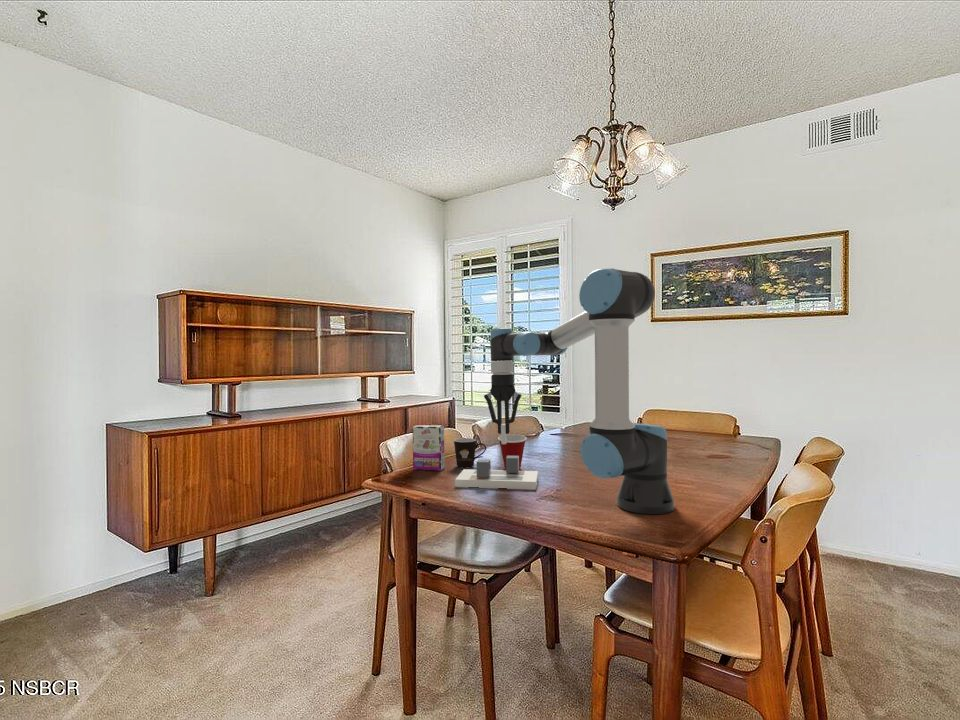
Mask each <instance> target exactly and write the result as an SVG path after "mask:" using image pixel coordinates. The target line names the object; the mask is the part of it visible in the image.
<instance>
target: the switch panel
mask: <svg viewBox="0 0 960 720" xmlns="http://www.w3.org/2000/svg"><path fill="white" fill-rule="evenodd" d="M462 469H463V470H461V472H460V473H459V474H458V475H457V476H456V478H455V480H454V485H455V486H454V487H455V488H468V487H479V488H478V489H498V488H507V489H506V490H530V491H531V490H532V491H533V490H534V491H535V490H537V487H538V486H537V485H538V482H537V481H539V471H538V470H519V472H518V473H506V469H505V470H503V469H491V475H490V477H489V478H483V477H477V469H470V468H462Z"/></svg>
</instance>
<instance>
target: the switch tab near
mask: <svg viewBox="0 0 960 720" xmlns="http://www.w3.org/2000/svg"><path fill="white" fill-rule="evenodd" d="M477 459H478V458H477ZM491 467H492V466H491V459H483V458H482V459H481V458H479V459H478V460H477V461H476V470H477V477H483V478H489V477H490V475H491V470H492V469H491Z"/></svg>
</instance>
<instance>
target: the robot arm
mask: <svg viewBox="0 0 960 720" xmlns="http://www.w3.org/2000/svg"><path fill="white" fill-rule="evenodd" d="M578 295H579V296H578V298H579V303H580V306H581V307H582V308H583V312H581V313H580V314H577V315H576V316H574V317H572V318H571V319H569V320H568V321H566V322H564V323H562V324H560V325H558V326H556V327H555V328H553V329H552V330H549V331H547V332H533V331H521V332H513V330H512V328H510V327H498V328H497V327H496V328H492V329H491V330H490V335H489V336H490V340H489V344H490V373H491V377H490V379H491V387H490V390H489V392H488V393H486V394H484V395H483V399H484V400H485V401H486V403H487V406H488V410H489V413H490V418H491V422H492V423H495V424H497V433H498V434H499V435H500V436H501V444H506V443H507V437H506V435H510V430H511V429H510V424H512V423H514V422H515V420H516V416H517V411H518V406H519V402H520V399H521V398H522V395H523V394H521V393H518V391H516V389H515V386H514V385H515V383H514V382H515V381H514V374H513V373H514V357H516V356H517V357H519V356H523V357H526V356H527V357H529V356H558V355H559V356H560V355H563V354H564V353H565V352H566V351H567V350H568V348H569V347H571V346H572V345H573V346H574V345H575V344H577V343H579V342H581V341H583V340H585V339H587V338H589V337H591V336H593V335H594V392H595V393H594V407H595V409H594V411H595V412H594V414H595V417H594V419H593V420H592V421H591V422H590V424H589V434H588V435H586V437H584V439H583V440H581V443H580V456H581V459H582V463H583V465H584V466H585V468H587V469H588V471H589V473H591V474H592V475H593V476H595V477H597V478H599V479H617V478H619V477H622V476H623V477H622V481H621V483H620V486H619V489H618V492H617V495H616V505H617V506H618V507H619V508H621V509H622V510H625V511H627V512H632V513H636V514H641V515H663V514H668V513H671V512H673V511H674V509H675V501H674V497H673V494H672V490H671V488H670V485H669V482H668V441H669V439H668V434H667V429H666V428H665V427H663V426H661V425H658V424H649V423H638V422H632V421H631V419H630V382H629V381H630V374H629V372H630V369H629V368H630V366H629V365H630V362H629V361H630V358H629V357H630V354H629V349H630V348H629V347H630V346H629V343H630V342H629V339H630V338H629V337H630V336H629V335H630V334H629V333H630V332H629V331H630V330H629V329H630V326H631V325H632V324H633V323H634V322H635V318H637V317H639V316H642V315H643V314H645V313H646V312H647V311H648V310H649V309H651V308H652V305H653V304H654V301H655V298H656V289H655V285H654V284H653V282H652V281H651V279H650V278H649V277H648V276H647V275H645V274H643V273H641V272H638V271H637V272H636V271H627V270H621V269H616V268H598V269H596V270H593V271H591V272H590V273H589V274H588V275H587V277H586V278H585V279H584V280H583V282H582V284H581V286H580V289H579V294H578ZM513 356H514V357H513ZM513 396H514V401H513V407H512V413H511V416H510V400H512V397H513ZM492 398H494V399H495V401H496V412H497V416H496V413H495V409H494V405H493V402H492ZM502 402H504V403H503V404H504V423H503V416H502V415H503V412H502Z"/></svg>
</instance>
